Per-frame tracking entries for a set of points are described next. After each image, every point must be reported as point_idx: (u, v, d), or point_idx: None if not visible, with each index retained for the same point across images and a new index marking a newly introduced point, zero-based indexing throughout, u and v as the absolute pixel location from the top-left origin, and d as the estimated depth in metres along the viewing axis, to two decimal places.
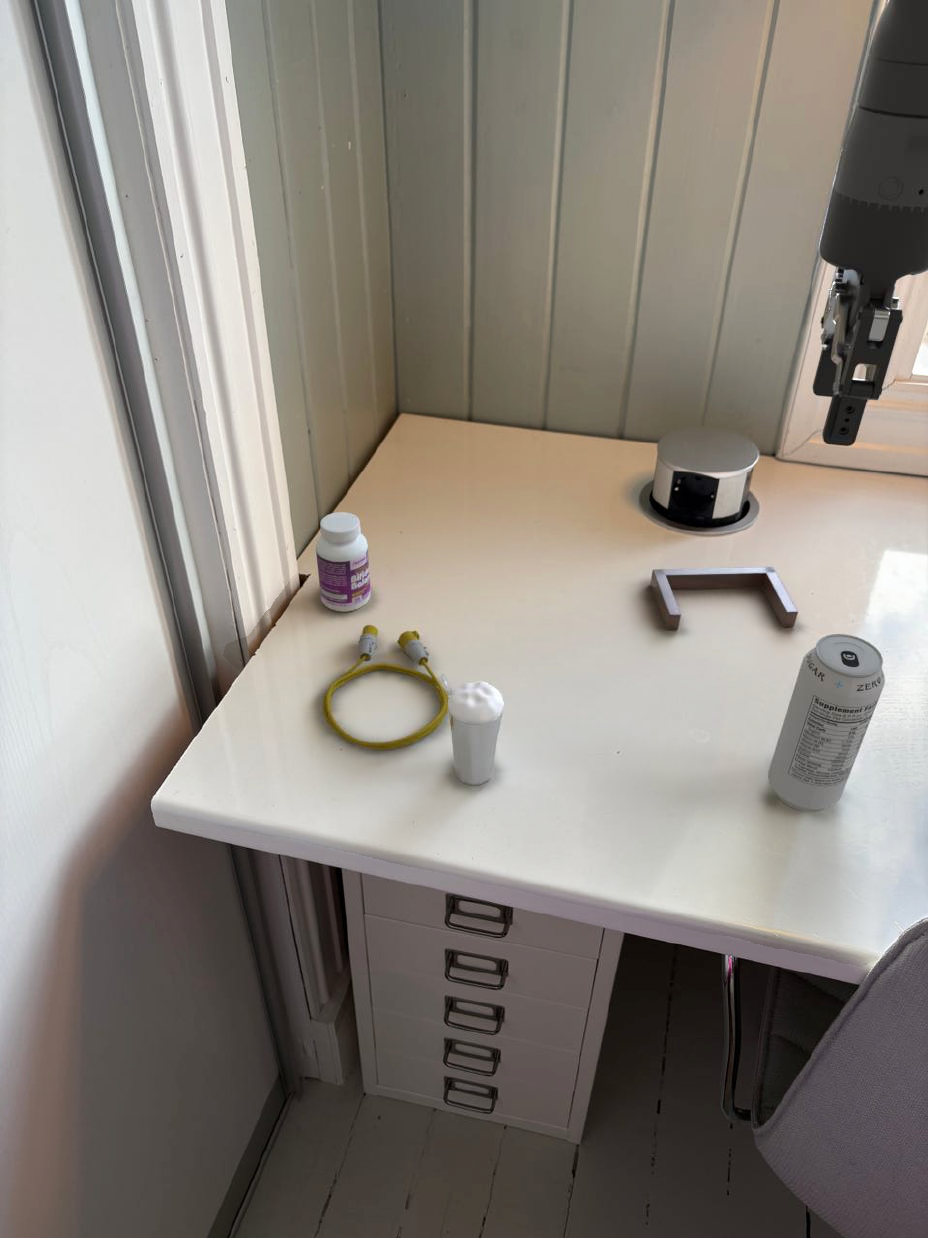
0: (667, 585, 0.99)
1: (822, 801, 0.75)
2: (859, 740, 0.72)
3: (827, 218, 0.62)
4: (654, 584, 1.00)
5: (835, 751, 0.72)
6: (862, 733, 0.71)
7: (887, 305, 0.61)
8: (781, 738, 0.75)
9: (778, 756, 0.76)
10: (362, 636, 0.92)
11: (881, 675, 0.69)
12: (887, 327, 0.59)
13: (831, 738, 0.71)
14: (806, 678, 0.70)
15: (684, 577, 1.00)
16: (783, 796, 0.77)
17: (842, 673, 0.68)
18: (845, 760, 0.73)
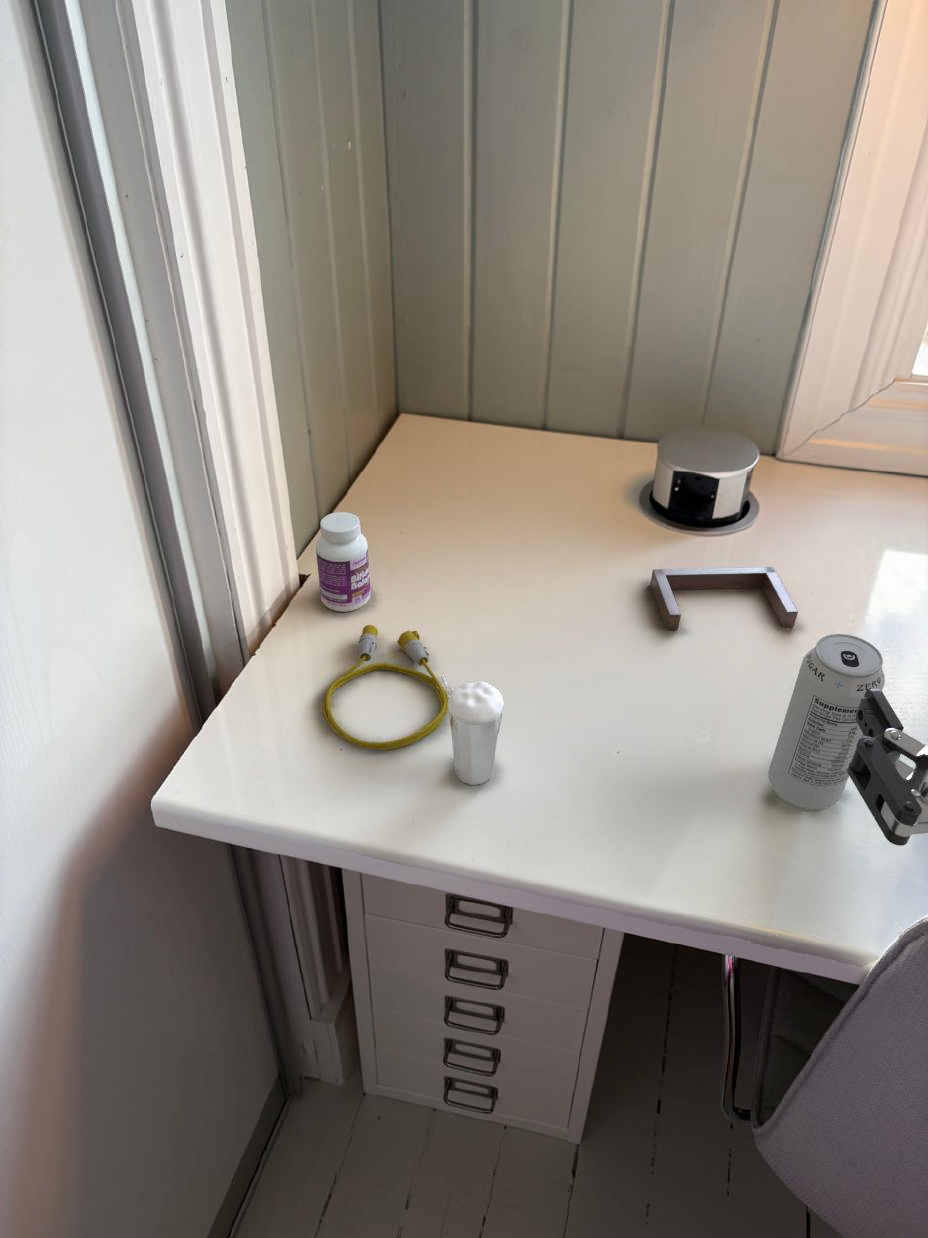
0: (667, 585, 0.99)
1: (822, 801, 0.75)
2: None
3: None
4: (654, 584, 1.00)
5: (835, 751, 0.72)
6: (862, 733, 0.71)
7: None
8: (781, 738, 0.75)
9: (778, 756, 0.76)
10: (362, 636, 0.92)
11: (881, 675, 0.69)
12: None
13: (831, 738, 0.71)
14: (806, 678, 0.70)
15: (684, 577, 1.00)
16: (783, 796, 0.77)
17: (841, 673, 0.68)
18: (845, 760, 0.73)
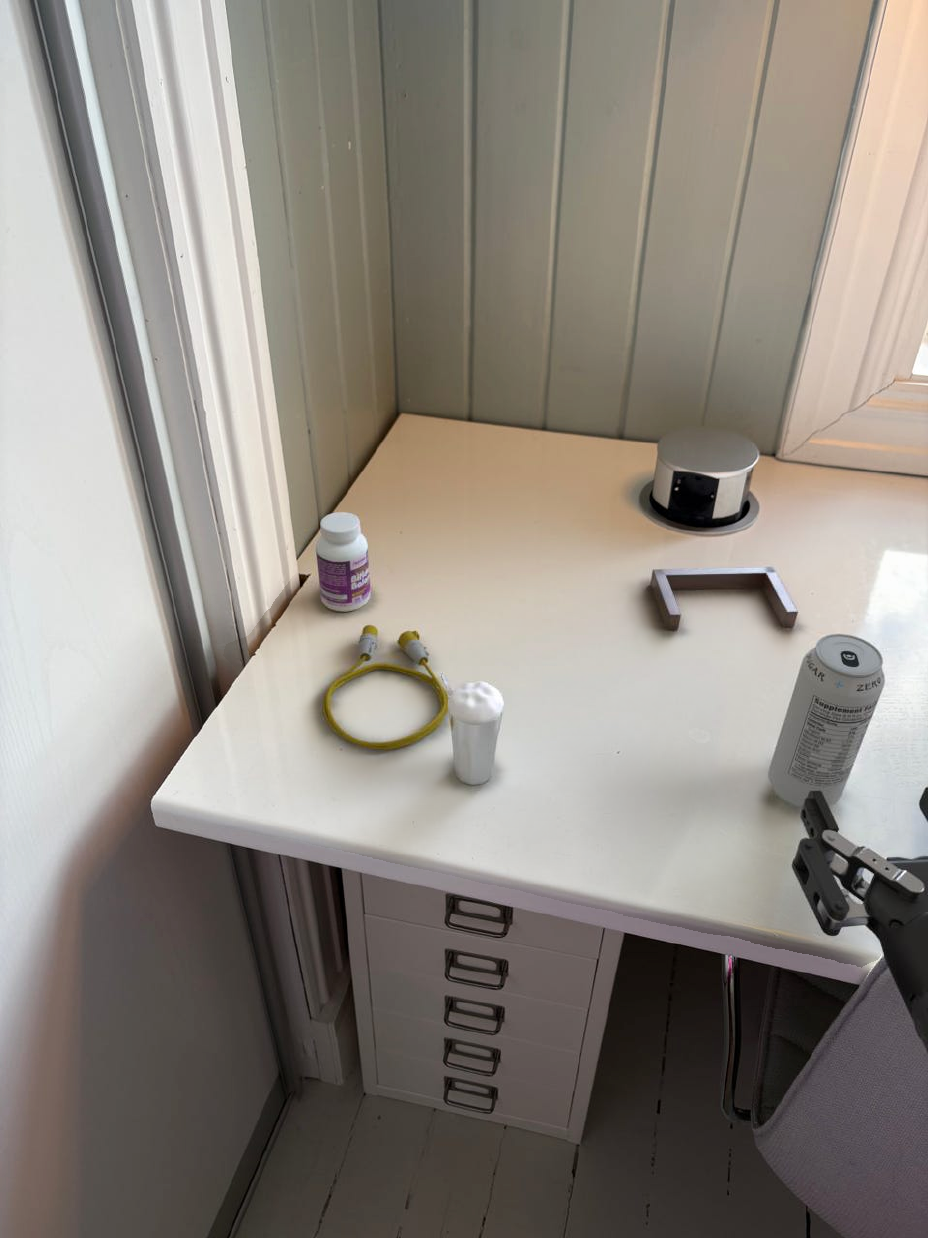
0: (667, 585, 0.99)
1: None
2: (859, 740, 0.72)
3: None
4: (654, 584, 1.00)
5: (835, 751, 0.72)
6: (862, 733, 0.71)
7: None
8: (781, 738, 0.75)
9: (778, 756, 0.76)
10: (362, 636, 0.92)
11: (881, 675, 0.69)
12: None
13: (831, 738, 0.71)
14: (806, 678, 0.70)
15: (684, 577, 1.00)
16: (783, 796, 0.77)
17: (841, 673, 0.68)
18: (845, 760, 0.73)
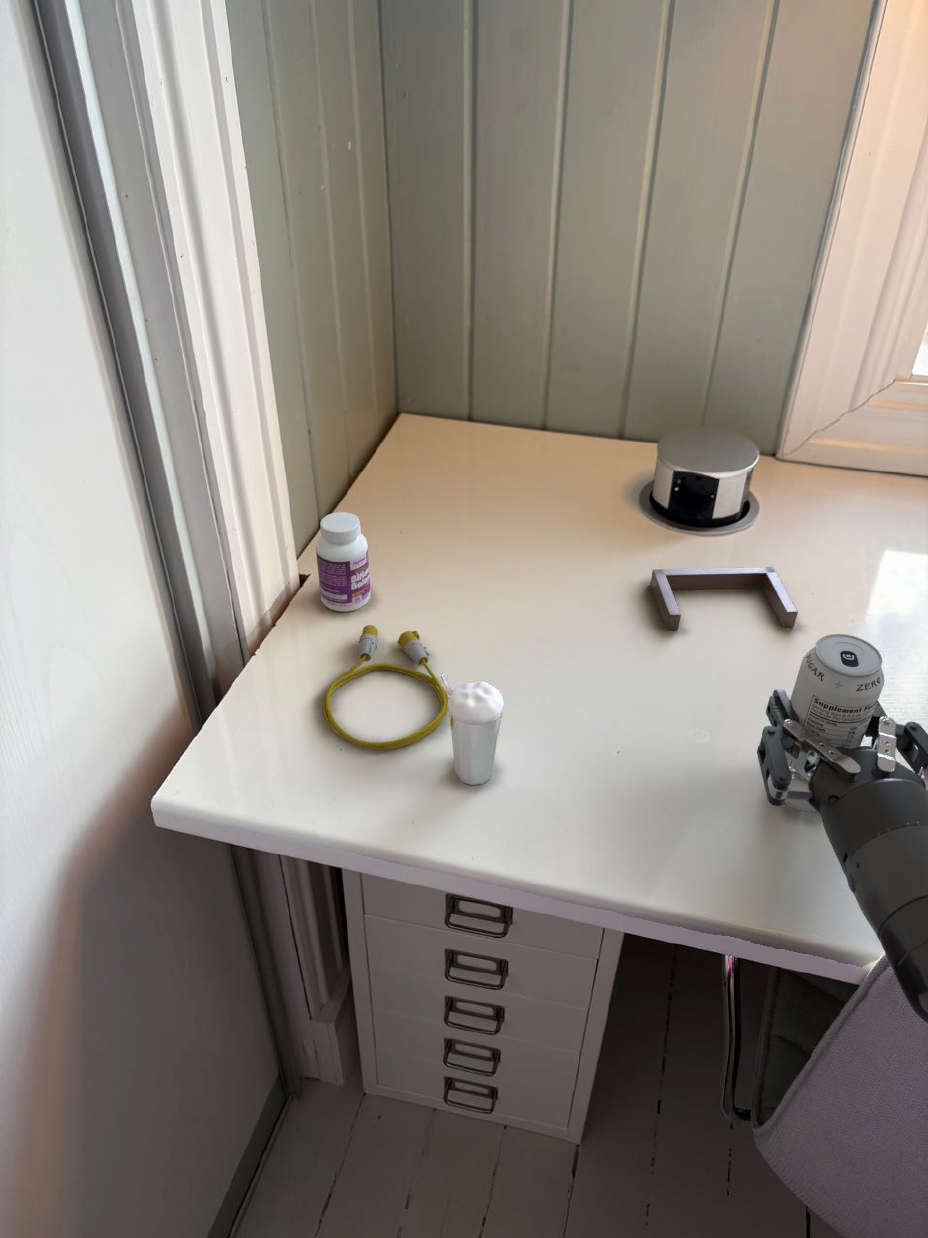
0: (667, 585, 0.99)
1: None
2: (859, 740, 0.72)
3: None
4: (654, 584, 1.00)
5: None
6: (862, 733, 0.71)
7: (924, 783, 0.67)
8: None
9: None
10: (362, 636, 0.92)
11: (881, 675, 0.69)
12: None
13: (831, 738, 0.71)
14: (805, 678, 0.70)
15: (684, 577, 1.00)
16: None
17: (841, 673, 0.68)
18: None
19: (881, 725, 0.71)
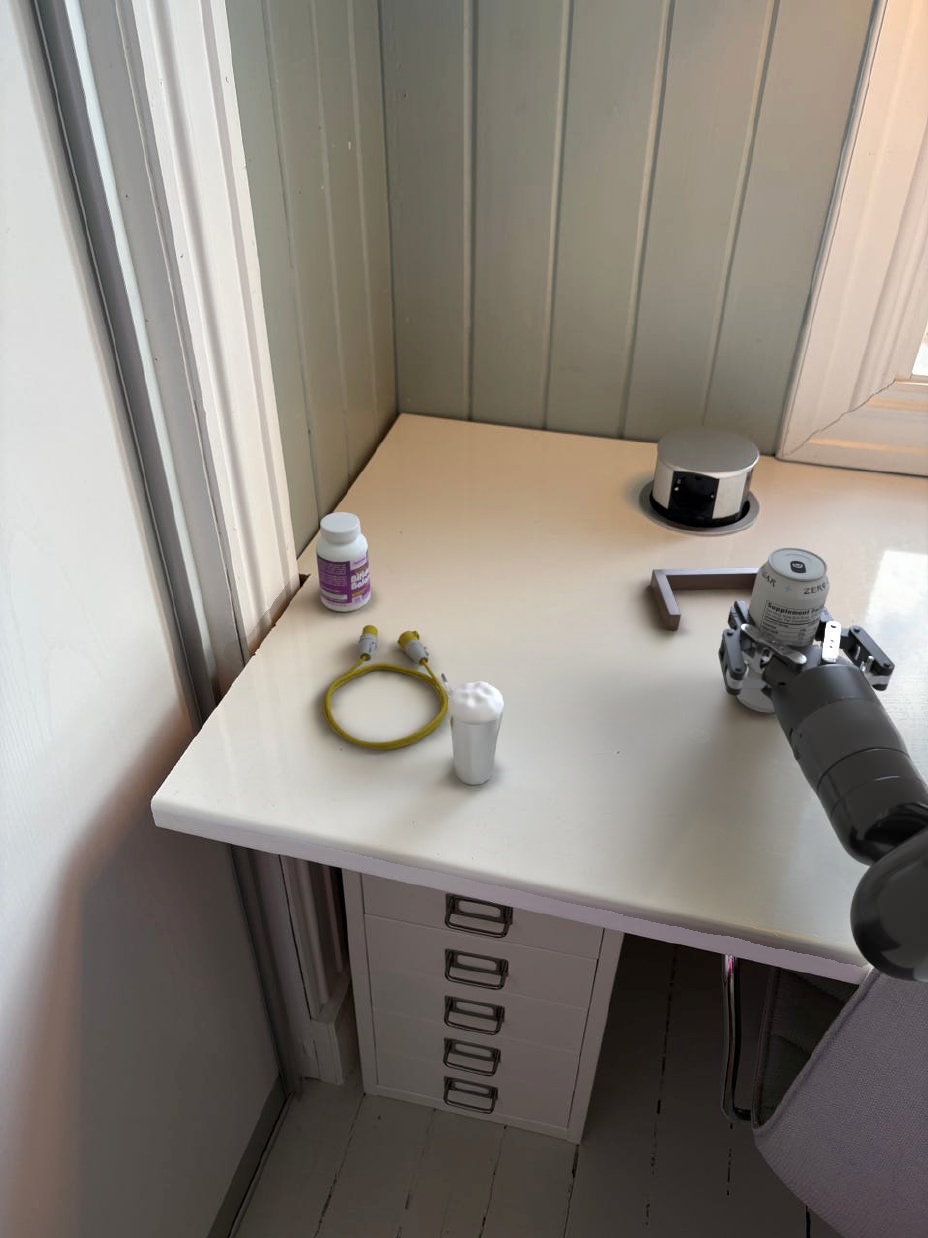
0: (667, 585, 0.99)
1: None
2: (808, 642, 0.81)
3: None
4: (654, 584, 1.00)
5: None
6: (811, 635, 0.80)
7: (864, 673, 0.76)
8: None
9: None
10: (362, 636, 0.92)
11: (826, 581, 0.78)
12: None
13: (783, 639, 0.80)
14: (760, 586, 0.79)
15: (684, 577, 1.00)
16: (744, 698, 0.85)
17: (790, 578, 0.77)
18: None
19: (828, 628, 0.80)
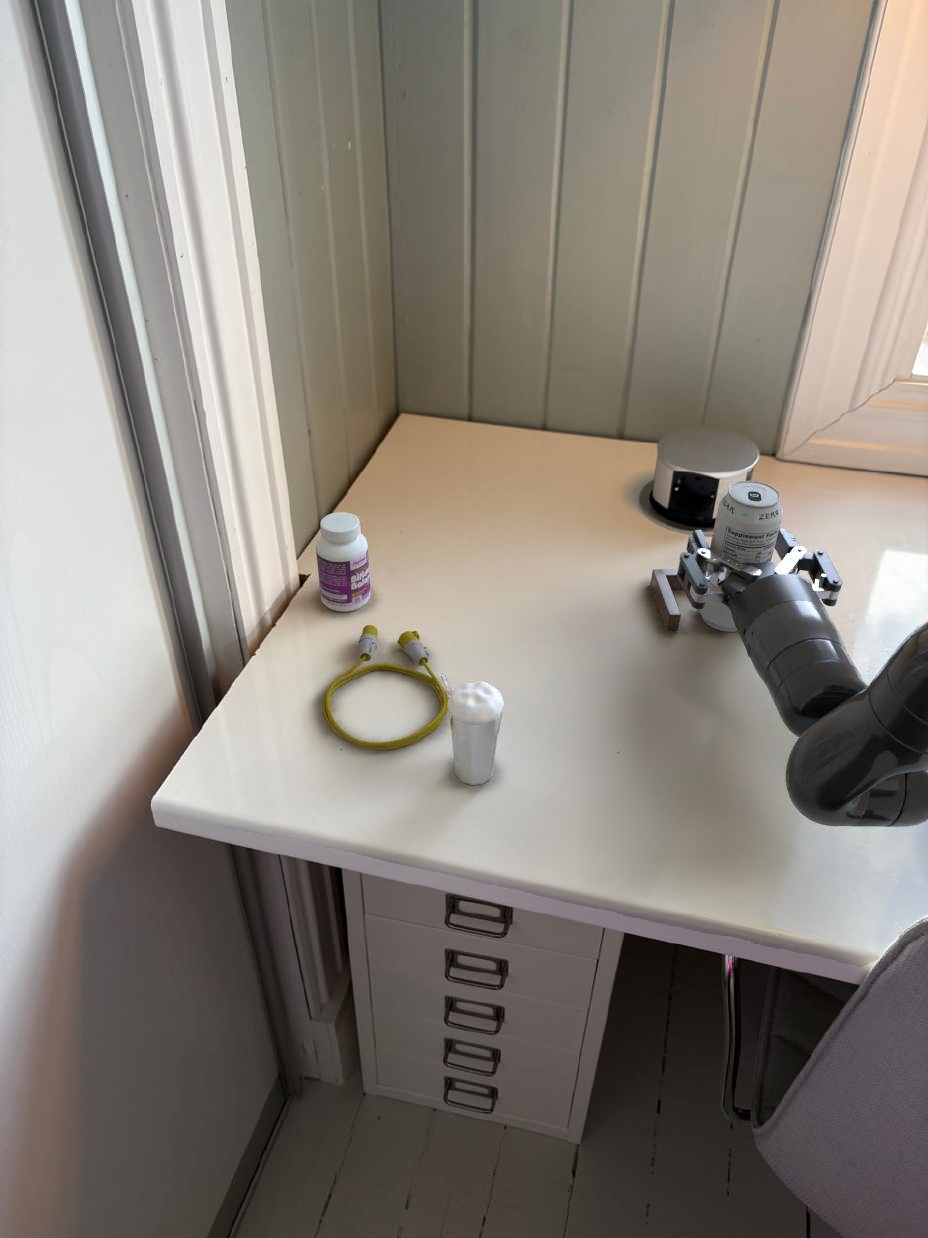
0: (667, 585, 0.99)
1: None
2: None
3: None
4: (654, 584, 1.00)
5: None
6: (766, 559, 0.90)
7: (812, 586, 0.86)
8: None
9: None
10: (362, 636, 0.92)
11: (779, 509, 0.88)
12: None
13: (742, 562, 0.90)
14: (721, 513, 0.89)
15: None
16: (708, 619, 0.95)
17: (747, 505, 0.87)
18: None
19: (793, 551, 0.89)
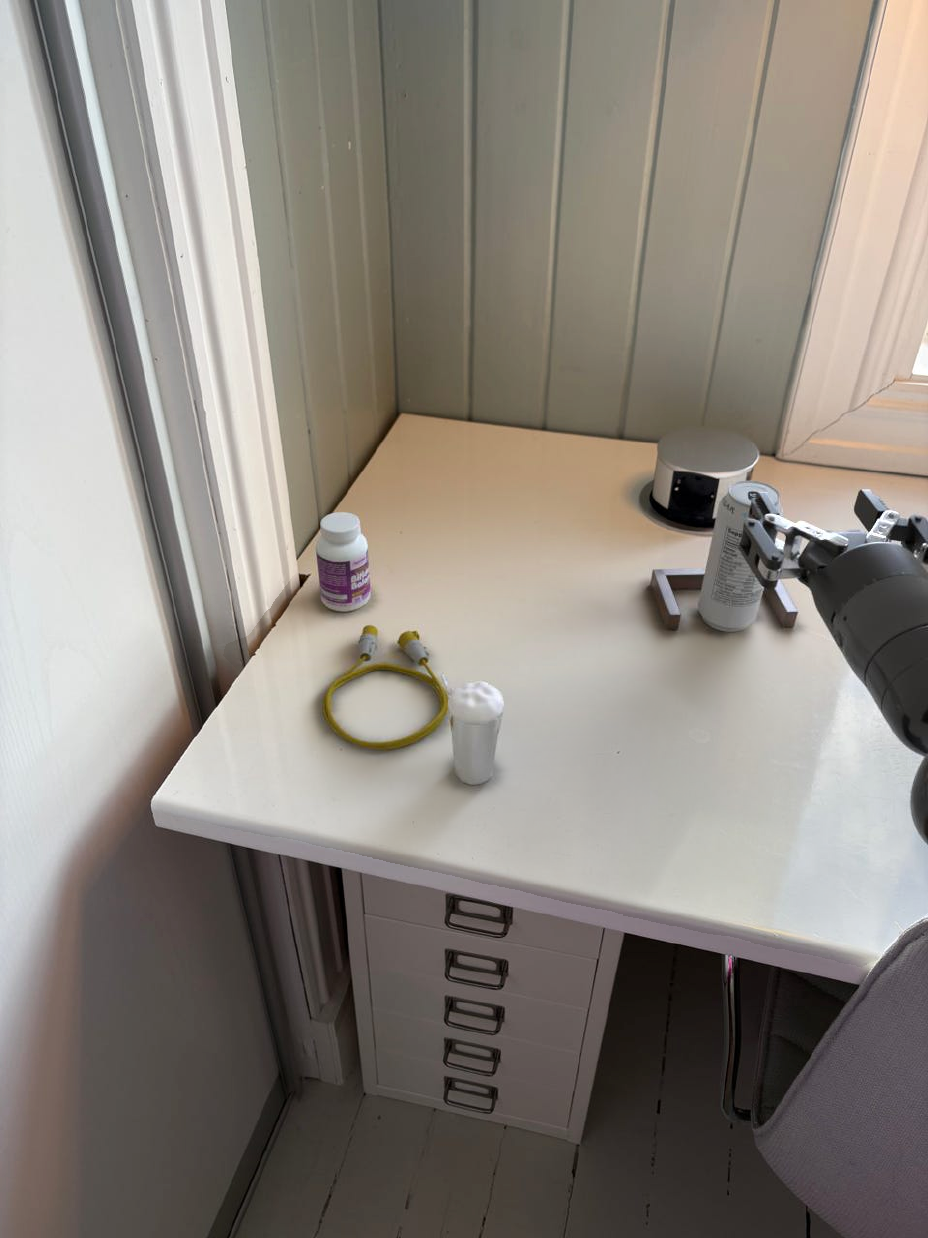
0: (667, 585, 0.99)
1: (738, 620, 0.94)
2: None
3: None
4: (654, 584, 1.00)
5: (745, 573, 0.90)
6: None
7: None
8: (706, 570, 0.94)
9: (704, 586, 0.95)
10: (362, 636, 0.92)
11: (779, 509, 0.88)
12: None
13: (742, 562, 0.90)
14: (721, 513, 0.89)
15: (684, 577, 1.00)
16: (708, 619, 0.95)
17: (747, 505, 0.87)
18: (755, 583, 0.91)
19: (884, 516, 0.72)
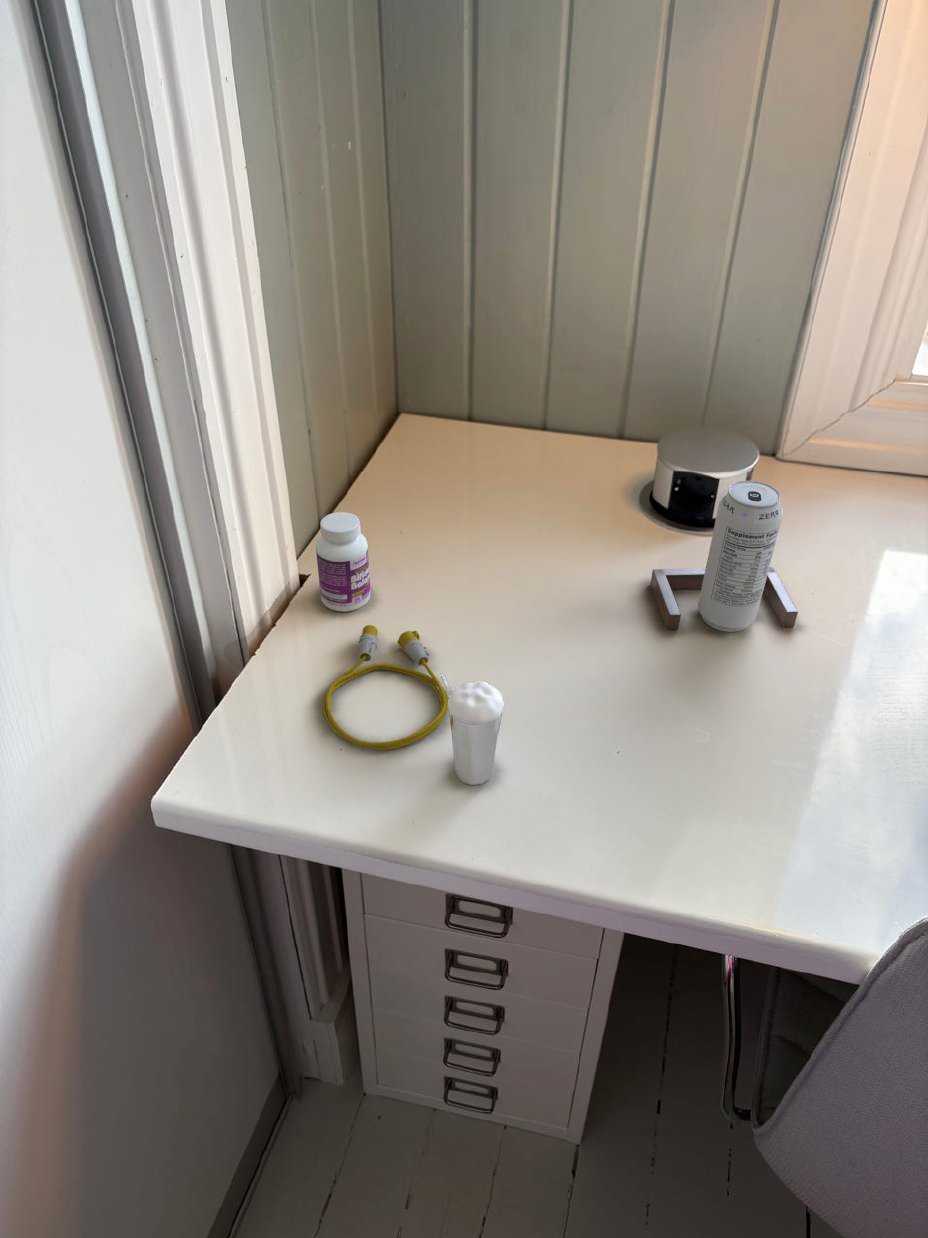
0: (667, 585, 0.99)
1: (738, 620, 0.94)
2: (764, 565, 0.91)
3: None
4: (654, 584, 1.00)
5: (745, 573, 0.90)
6: (766, 559, 0.90)
7: None
8: (706, 570, 0.94)
9: (704, 586, 0.95)
10: (362, 636, 0.92)
11: (779, 509, 0.88)
12: None
13: (742, 562, 0.90)
14: (721, 513, 0.89)
15: (684, 577, 1.00)
16: (708, 619, 0.95)
17: (747, 505, 0.87)
18: (755, 583, 0.91)
19: None
